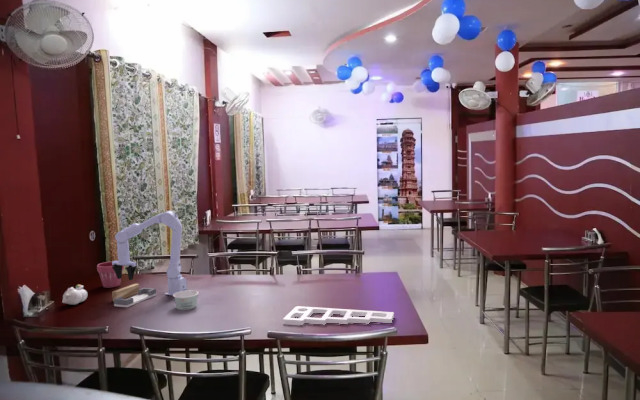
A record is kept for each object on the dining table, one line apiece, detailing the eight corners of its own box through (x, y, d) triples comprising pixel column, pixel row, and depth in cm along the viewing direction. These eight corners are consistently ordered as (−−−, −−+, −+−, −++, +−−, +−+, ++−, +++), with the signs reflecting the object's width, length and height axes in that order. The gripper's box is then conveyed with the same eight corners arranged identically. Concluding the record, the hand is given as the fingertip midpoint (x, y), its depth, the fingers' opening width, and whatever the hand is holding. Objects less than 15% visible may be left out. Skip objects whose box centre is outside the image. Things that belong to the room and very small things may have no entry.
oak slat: (139, 293, 255) (138, 283, 254) (117, 301, 240) (116, 292, 239) (135, 292, 256) (134, 283, 255) (112, 301, 241) (112, 291, 240)
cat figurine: (83, 281, 245) (63, 285, 231) (95, 289, 244) (75, 294, 229) (74, 296, 246) (54, 302, 231) (86, 304, 245) (66, 310, 230)
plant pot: (130, 284, 273) (128, 262, 272) (108, 290, 261) (106, 267, 260) (115, 281, 280) (113, 260, 279) (93, 287, 269) (91, 265, 267)
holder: (394, 318, 205) (394, 312, 205) (388, 333, 188) (388, 326, 188) (296, 311, 218) (296, 306, 217) (282, 325, 200) (282, 319, 200)
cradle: (156, 295, 249) (155, 288, 248) (126, 307, 229) (126, 300, 229) (144, 294, 252) (143, 287, 251) (114, 306, 232) (113, 299, 232)
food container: (176, 312, 220) (175, 298, 219) (171, 305, 230) (170, 292, 230) (201, 308, 225) (201, 294, 225) (196, 301, 236) (195, 288, 235)
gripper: (106, 254, 244) (108, 280, 246) (128, 255, 239) (130, 282, 240) (117, 251, 251) (119, 276, 252) (138, 253, 246) (140, 278, 247)
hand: (125, 279), depth 247 cm, fingers open, 7 cm apart
